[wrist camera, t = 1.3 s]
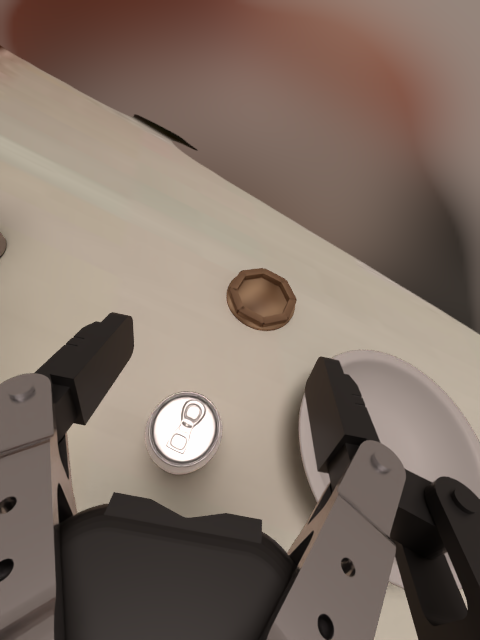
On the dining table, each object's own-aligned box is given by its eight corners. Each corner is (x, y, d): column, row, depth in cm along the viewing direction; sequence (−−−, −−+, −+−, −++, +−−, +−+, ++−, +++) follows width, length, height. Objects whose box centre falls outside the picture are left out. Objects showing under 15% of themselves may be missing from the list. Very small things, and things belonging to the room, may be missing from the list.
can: (217, 427, 32) (237, 405, 22) (193, 484, 28) (204, 490, 18) (171, 405, 32) (170, 373, 22) (141, 459, 28) (124, 450, 18)
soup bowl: (266, 545, 27) (289, 563, 21) (288, 348, 40) (306, 328, 35) (467, 593, 29) (537, 621, 23) (425, 389, 42) (463, 376, 36)
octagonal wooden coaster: (213, 308, 41) (215, 301, 39) (244, 263, 48) (246, 256, 46) (280, 343, 40) (284, 338, 39) (301, 293, 47) (305, 287, 45)
